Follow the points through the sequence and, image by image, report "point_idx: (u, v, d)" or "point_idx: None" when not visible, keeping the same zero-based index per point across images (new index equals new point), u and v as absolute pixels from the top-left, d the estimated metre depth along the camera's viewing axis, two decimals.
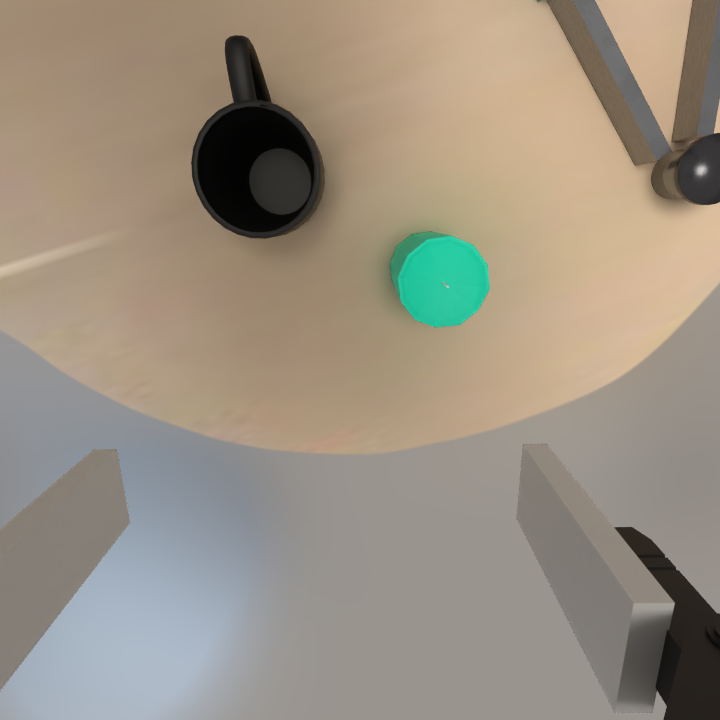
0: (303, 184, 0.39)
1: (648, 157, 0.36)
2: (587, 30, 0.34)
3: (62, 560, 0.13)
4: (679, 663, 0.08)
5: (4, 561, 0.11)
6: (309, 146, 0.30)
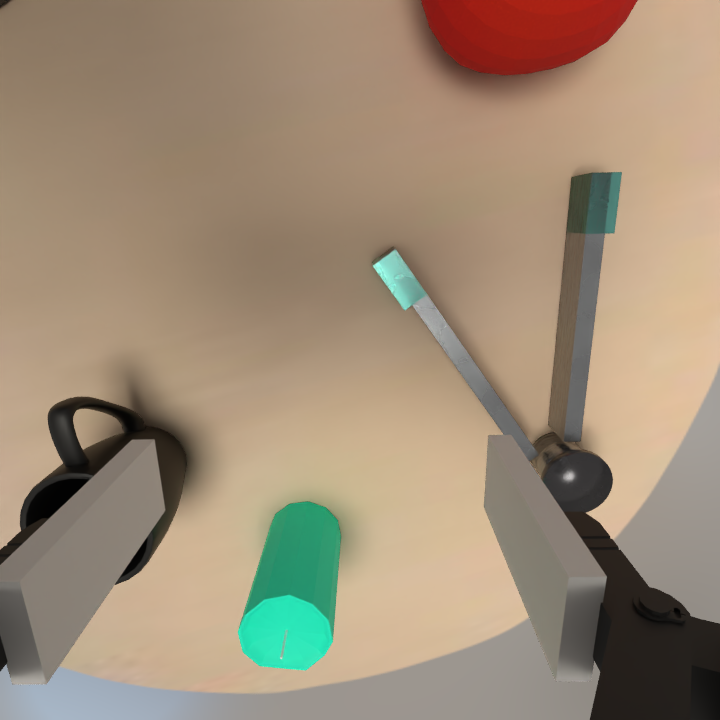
0: None
1: None
2: None
3: (110, 543, 0.13)
4: (609, 635, 0.08)
5: (64, 540, 0.11)
6: None
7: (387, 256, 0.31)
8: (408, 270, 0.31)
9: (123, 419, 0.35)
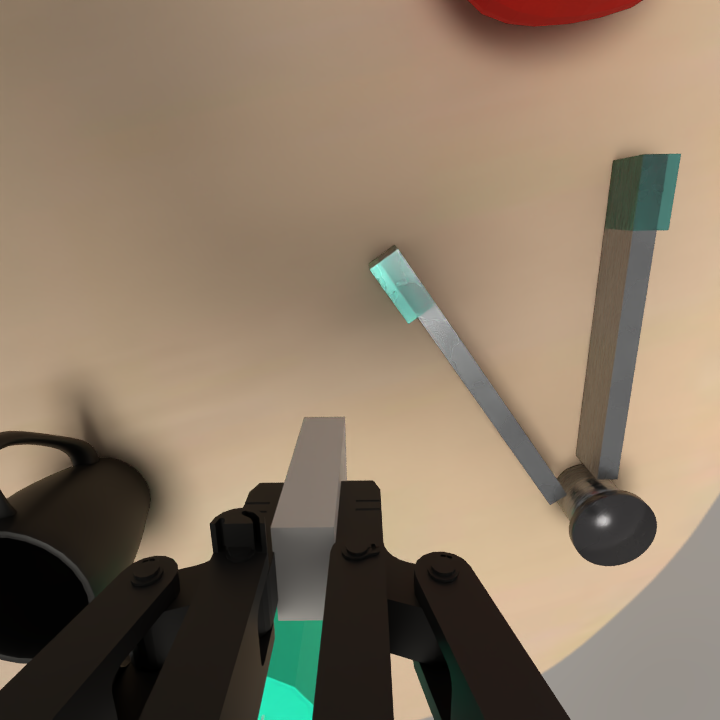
0: None
1: None
2: None
3: None
4: (327, 587, 0.10)
5: None
6: (78, 576, 0.23)
7: (387, 257, 0.25)
8: (413, 275, 0.25)
9: (69, 451, 0.29)
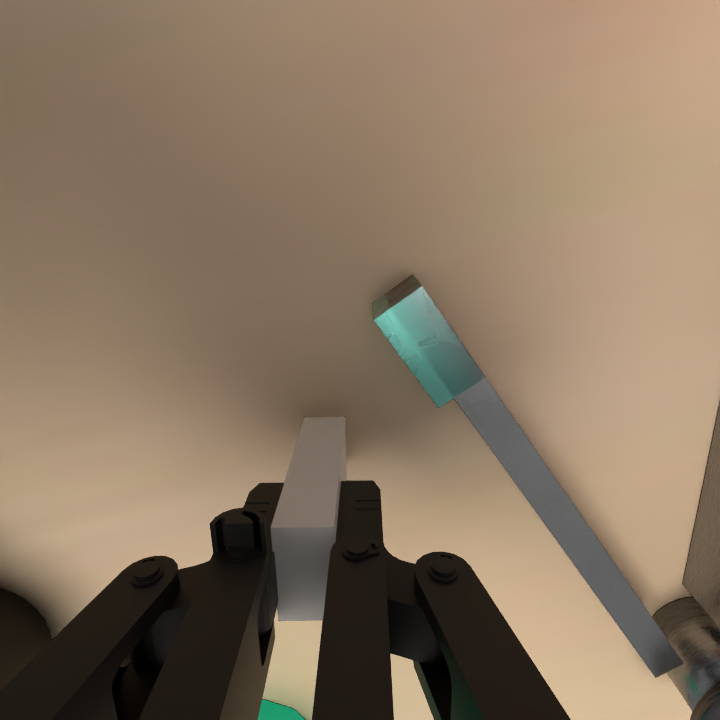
0: None
1: None
2: None
3: None
4: (327, 587, 0.10)
5: None
6: None
7: (404, 300, 0.15)
8: (448, 329, 0.15)
9: None
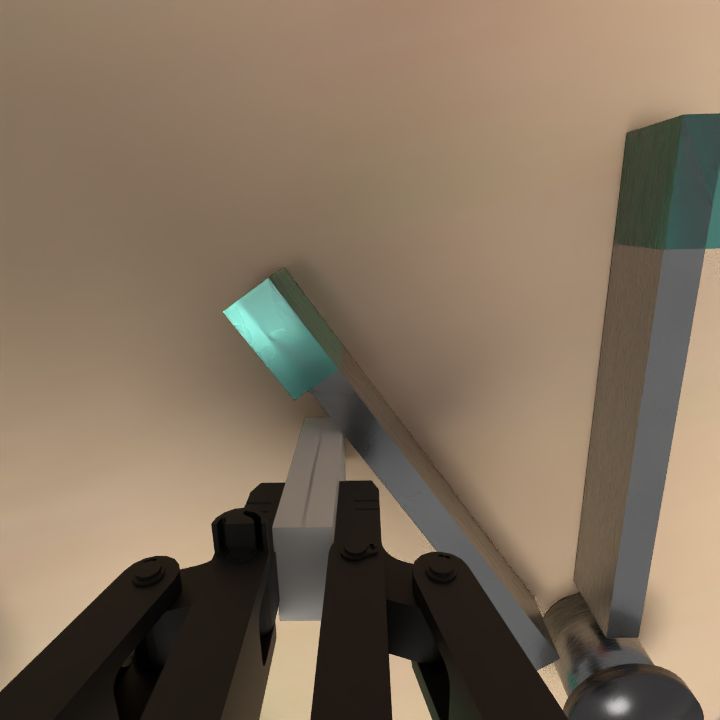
0: None
1: None
2: (377, 474, 0.17)
3: None
4: (325, 587, 0.10)
5: None
6: None
7: (252, 292, 0.15)
8: (297, 321, 0.15)
9: None
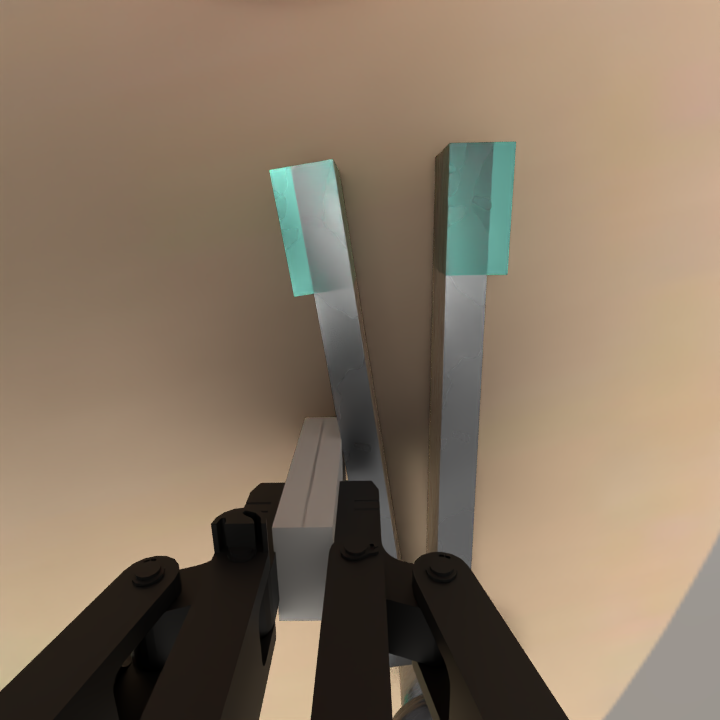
0: None
1: None
2: (336, 410, 0.16)
3: None
4: (325, 587, 0.10)
5: None
6: None
7: (308, 166, 0.13)
8: (338, 218, 0.14)
9: None
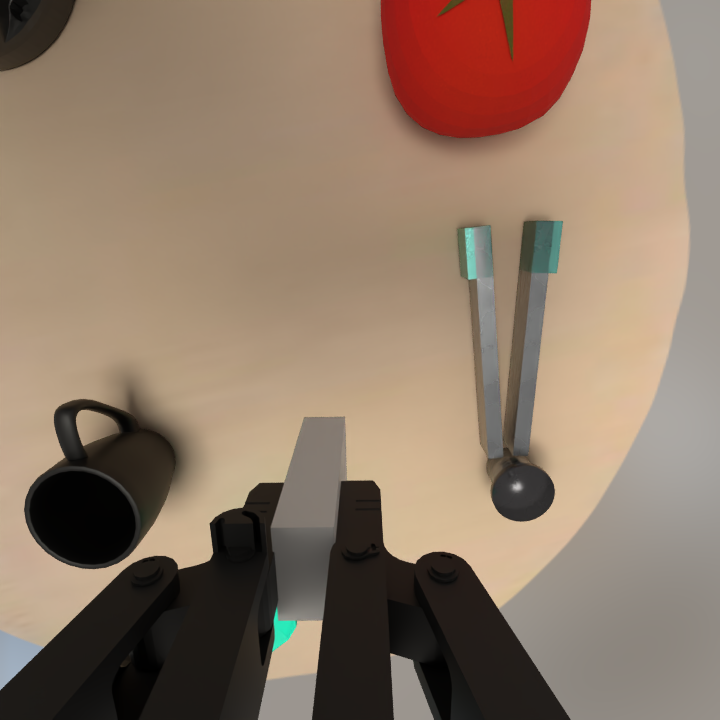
0: None
1: (485, 449, 0.39)
2: (479, 329, 0.36)
3: None
4: (327, 587, 0.10)
5: None
6: (129, 502, 0.33)
7: (480, 227, 0.34)
8: (490, 248, 0.34)
9: (119, 420, 0.39)
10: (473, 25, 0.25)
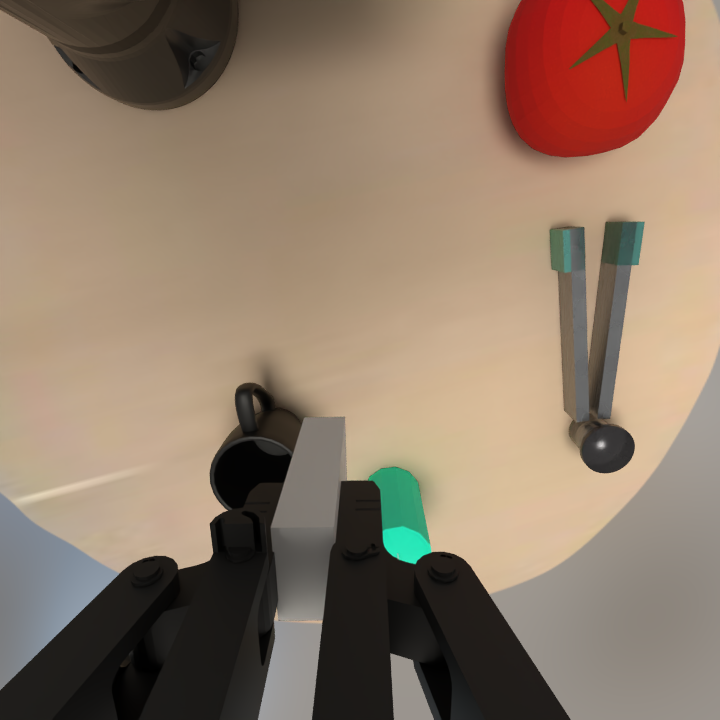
0: None
1: (573, 415, 0.47)
2: (572, 314, 0.43)
3: None
4: (327, 587, 0.10)
5: None
6: None
7: (575, 229, 0.41)
8: (583, 246, 0.41)
9: (264, 401, 0.46)
10: (597, 75, 0.31)
